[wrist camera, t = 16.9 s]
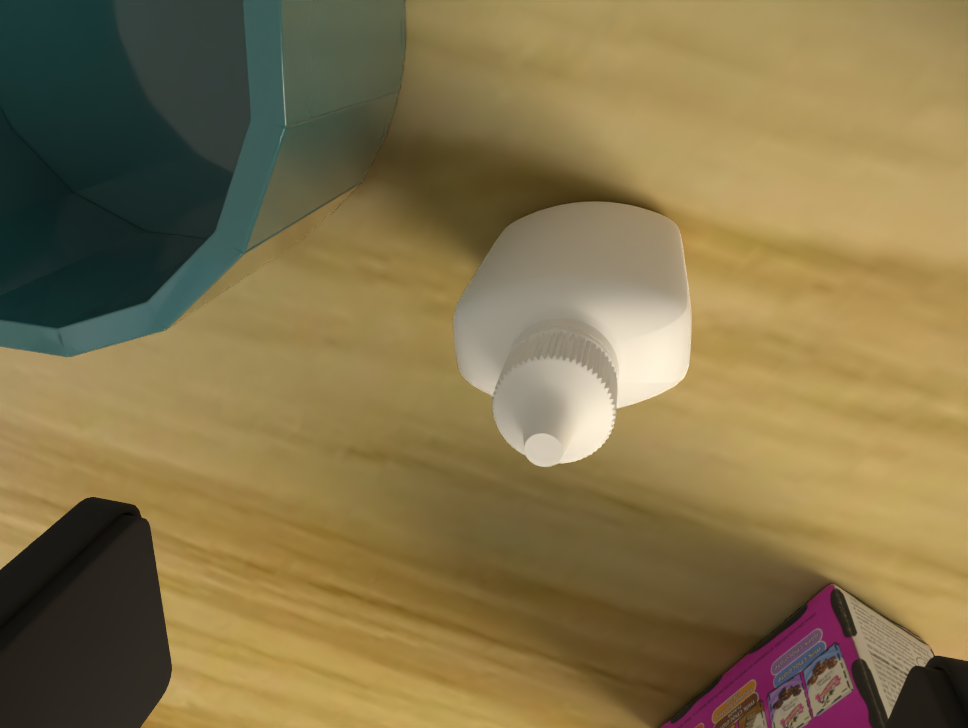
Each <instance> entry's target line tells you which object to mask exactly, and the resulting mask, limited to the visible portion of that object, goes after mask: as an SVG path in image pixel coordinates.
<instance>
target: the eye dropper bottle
mask: <svg viewBox="0 0 968 728" xmlns="http://www.w3.org/2000/svg"><path fill="white" fill-rule="evenodd" d="M453 333H454V344H455V352H456V359H457V364H458V369H459V371H460V373H461V375H462V377H463V378H464V379H465V380H466V381H467V382H469V383H470V384H471V385H472V386H474V387H475V388H477V389H479V390H481V391H483V392H485V393H487V394H489V395H491V396H493V398H492V401H493V403H492V407H493V410H492V412H493V414H494V415H493V418H494V419H495V423H496V424H497V428H498V429H499V430H500V433H501V434H502V435H503V438H504V439H506V440H507V443H509V444H511V447H513V448H515V449H516V450H517V451H519V452H520V453H521V454H524V455H526V457H527V458H528V460H529V461H530V462H532V463H533V464H535V465H537V466H541V467H550V466H553V465H555V464H558V463H562V464H564V463H570V462H576V460H581V459H582V458H585V457H587V455H592V452H595V451H597V449H598V448H600V447H601V446H602V444H604V443H605V441H606V439H608V438H609V434H611V432H612V429H613V428H614V423H615V417H616V409H617V408H621V407H625V406H628V405H632V404H635V403H638V402H641V401H644V400H647V399H649V398H652V397H654V396H656V395H659V394H661V393H663V392H665V391H667V390H669V389H671V388H673V387H674V386H676V385H677V384H678V383H679V382H680V381H681V380H683V379H684V377H685V375H686V373H687V370H688V368H689V362H690V351H691V304H690V294H689V287H688V279H687V272H686V265H685V258H684V251H683V245H682V238H681V234H680V231H679V228H678V225H676V224H675V223H674V222H673V221H672V220H671V219H670V218H668V217H665V216H663V215H661V214H659V213H656V212H653V211H650V210H647V209H643V208H640V207H636V206H631V205H627V204H621V203H613V202H599V201H591V202H576V203H568V204H563V205H558V206H554V207H550V208H546V209H543V210H540V211H537V212H534V213H532V214H529V215H527V216H525V217H522V218H520V219H518V220H516V221H514V222H513V223H511V224H509V225H508V226H507V227H506V228H505V229H504V230H503V231H502V233H501V234H500V235H499V237H498V238H497V240H496V242H495V243H494V245H493V246H492V248H491V249H490V251H489V252H488V254H487V255H486V257H485V259H484V260H483V262H482V263H481V265H480V266H479V268H478V270H477V271H476V273H475V274H474V276H473V277H472V279H471V281H470V282H469V284H468V285H467V287H466V289H465V290H464V292H463V294H462V296H461V298H460V299H459V301H458V303H457V306H456V309H455V313H454V318H453Z"/></svg>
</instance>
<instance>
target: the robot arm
mask: <svg viewBox="0 0 968 728" xmlns="http://www.w3.org/2000/svg"><path fill="white" fill-rule="evenodd" d="M171 672H172V664H171V657H170V651H169V645H168V638H167V632H166V625H165V619H164V613H163V606H162V600H161V593H160V587H159V581H158V574H157V568H156V561H155V555H154V549H153V542H152V536H151V530H150V525H149V522H148V521H147V520H146V519H144V518H141V515H140V511H139V509H138V508H137V507H136V506H135V505H132V504H128V503H122V502H117V501H112V500H106V499H101V498H96V497H90V498H86V499H84V500H83V501H81V502H80V503H78V504H77V505H76V506H75V507H74V508H72V509H71V510H70V511H69V512H68V513H67V514H65V515H64V516H63V517H62V518H61V519H60V520H58V521H57V522H56V523H55V524H54V525H52V526H51V527H50V528H49V529H48V530H47V531H45V532H44V533H43V534H42V535H41V536H40V537H38V538H37V539H36V540H35V541H34V542H33V543H31V544H30V545H29V546H28V547H27V548H26V549H24V550H23V551H22V552H21V553H20V554H18V555H17V556H16V557H15V558H14V559H13V560H11V561H10V562H9V563H8V564H7V565H6V566H4V567H3V568H2V569H1V570H0V728H140V727H141V726H142V724H143V723H144V721H145V720H146V719H147V717H148V716H149V714H150V713H151V712H152V710H153V709H154V707H155V706H156V705H157V703H158V702H159V700H160V699H161V698H162V696H163V694H164V693H165V691H166V689H167V687H168V684H169V681H170V678H171ZM885 728H968V661H964V660H958V659H953V658H948V657H942V656H934V657H932V658H931V659H929V661H928V662H927V664H926V666H925V667H923V666H914V667H912V668H911V670H910V671H909V673H908V675H907V677H906V680H905V682H904V684H903V687H902V689H901V691H900V694H899V696H898V698H897V700H896V703H895V705H894V707H893V710H892V712H891V714H890V717H889V719H888V721H887V723H886V726H885Z"/></svg>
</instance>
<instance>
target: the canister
mask: <svg viewBox="0 0 968 728" xmlns="http://www.w3.org/2000/svg"><path fill="white" fill-rule="evenodd" d="M405 42H406V15H405V0H0V347H6V348H12V349H19V350H25V351H31V352H38V353H44V354H50V355H57V356H63V357H73V356H76V355H80V354H83V353H87V352H90V351H94V350H98V349H101V348H105V347H108V346H112V345H115V344H119V343H123V342H126V341H130V340H133V339H137V338H140V337H144V336H148V335H151V334H155V333H158V332H162V331H165V330H167V329H168V328H170V327H171V326H173V325H174V324H176V323H177V322H179V321H180V320H182V319H183V318H185V317H186V316H188V315H189V314H191V313H192V312H194V311H195V310H197V309H198V308H200V307H201V306H203V305H204V304H206V303H207V302H209V301H210V300H212V299H213V298H215V297H216V296H218V295H219V294H221V293H222V292H224V291H225V290H227V289H228V288H230V287H231V286H233V285H234V284H236V283H237V282H239V281H240V280H242V279H243V278H245V277H246V276H248V275H249V274H251V273H252V272H254V271H255V270H257V269H258V268H260V267H261V266H263V265H264V264H266V263H267V262H269V261H270V260H272V259H273V258H275V257H276V256H278V255H279V254H281V253H282V252H284V251H285V250H287V249H288V248H290V247H291V246H293V245H294V244H296V243H297V242H299V241H300V240H302V239H303V238H304V237H305V236H306V235H307V234H308V233H309V232H311V231H312V230H313V229H314V228H315V227H316V226H317V225H318V224H319V223H320V222H321V221H322V220H323V219H324V218H326V217H327V216H328V215H329V214H331V213H332V212H333V211H334V210H335V209H337V208H338V207H339V206H340V204H341V203H342V202H343V201H344V200H345V199H346V198H347V197H348V196H349V195H350V194H351V193H352V192H353V191H354V190H355V189H356V188H357V187H358V186H359V185H360V184H361V183H362V181H363V180H364V178H365V175H366V173H367V171H368V169H369V167H370V166H371V164H372V163H373V161H374V159H375V157H376V155H377V153H378V151H379V149H380V147H381V145H382V143H383V141H384V138H385V136H386V134H387V131H388V128H389V125H390V122H391V119H392V116H393V113H394V110H395V107H396V104H397V99H398V94H399V90H400V87H401V79H402V74H403V69H404V55H405Z"/></svg>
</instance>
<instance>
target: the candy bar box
mask: <svg viewBox="0 0 968 728" xmlns="http://www.w3.org/2000/svg"><path fill="white" fill-rule="evenodd" d="M934 656H935V655H934V653H933V651H932V649H931V647H930V646H929V645H928V644H926V643H925V642H924V641H922V640H921V639H920V638H918V637H917V636H915V635H914V634H912V633H911V632H910V631H908V630H906V629H905V628H903V627H901V626H899V625H897V624H895V623H893V622H892V621H890V620H888V619H886V618H885V617H883V616H882V615H880V614H879V613H877V612H876V611H874V610H873V609H871V608H870V607H869V606H867V605H866V604H864V603H863V602H861V601H860V600H858V599H857V598H855V597H854V596H852V595H851V594H849V593H847V592H846V591H844V590H842V589H841V588H839V587H838V586H837V585H835V584H830V585H828V586H827V587H825V588H824V589H823V590H821V591H820V592H819V593H818V594H817V595H816V596H814V597H813V598H812V599H811V600H810V601H808V602H807V603H806V604H805V605H804V606H802V607H801V608H800V609H799V610H798V611H797V612H795V613H794V614H793V615H792V616H791V617H790V618H788V619H787V620H786V621H785V622H784V623H783V624H782V625H780V626H779V627H778V628H777V629H776V630H775V631H774V632H772V633H771V634H770V635H769V636H768V637H766V638H765V639H764V640H763V641H762V642H761V643H759V644H758V645H757V646H756V647H755V648H754V649H752V650H751V651H750V652H749V653H748V654H747V655H746V656H744V657H743V658H742V659H741V660H740V661H739V662H737V663H736V664H735V665H734V666H733V667H732V668H731V669H729V670H728V671H727V672H726V673H725V674H723V675H722V676H721V677H720V678H719V679H718V680H716V681H715V682H714V683H713V684H712V685H711V686H709V687H708V688H707V689H706V690H705V691H704V692H702V693H701V694H700V695H699V696H698V697H696V698H695V699H694V700H693V701H692V702H690V703H689V704H688V705H687V706H686V707H684V708H683V709H682V710H681V711H680V712H678V713H677V714H676V715H675V716H674V717H673V718H671V719H670V720H669V721H668V722H667V723H665V724H664V725H663V726H662V727H661V728H885V726H886V723H887V721H888V719H889V717H890V714H891V712H892V710H893V707H894V705H895V703H896V700H897V698H898V696H899V694H900V691H901V689H902V687H903V684H904V682H905V680H906V677H907V675H908V673H909V671H910V670H911V668H912V667H914V666H923V667H925V666H926V664H927V662H928V661H929V659H931V658H932V657H934Z"/></svg>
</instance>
